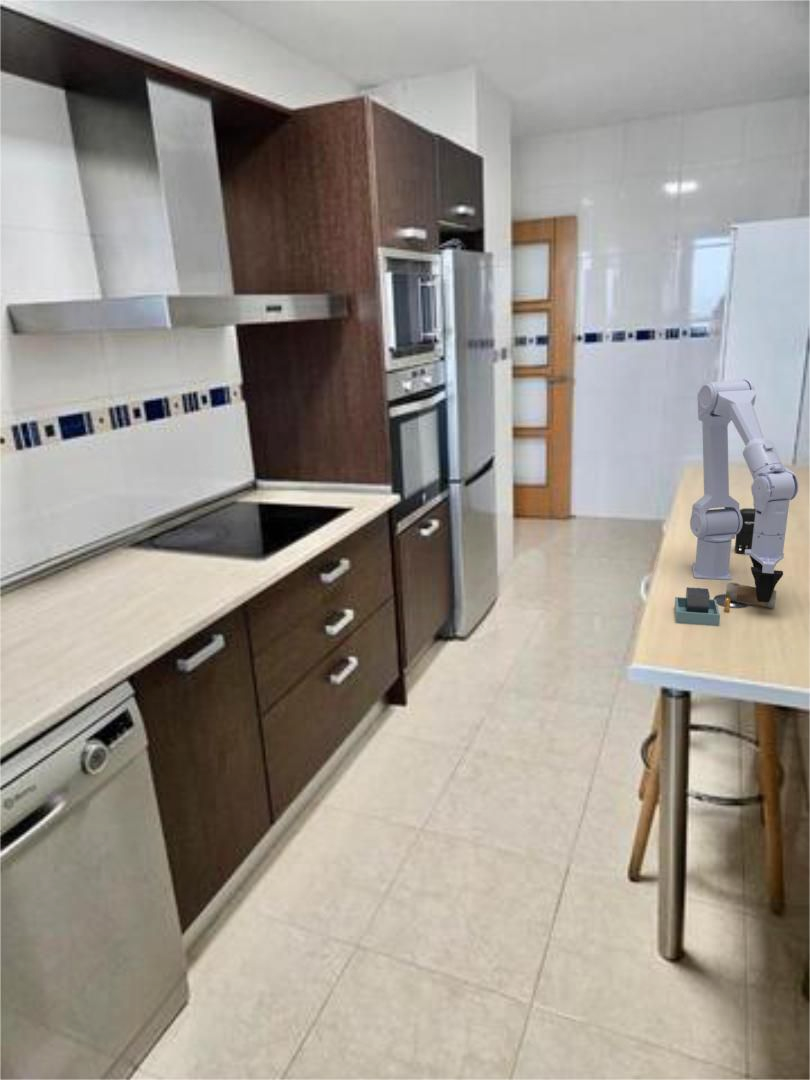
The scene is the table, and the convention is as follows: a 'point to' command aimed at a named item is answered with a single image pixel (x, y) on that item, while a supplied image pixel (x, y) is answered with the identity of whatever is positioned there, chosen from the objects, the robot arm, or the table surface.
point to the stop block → (697, 600)
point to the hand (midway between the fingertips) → (762, 594)
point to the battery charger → (745, 531)
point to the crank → (747, 594)
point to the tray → (696, 614)
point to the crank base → (729, 603)
